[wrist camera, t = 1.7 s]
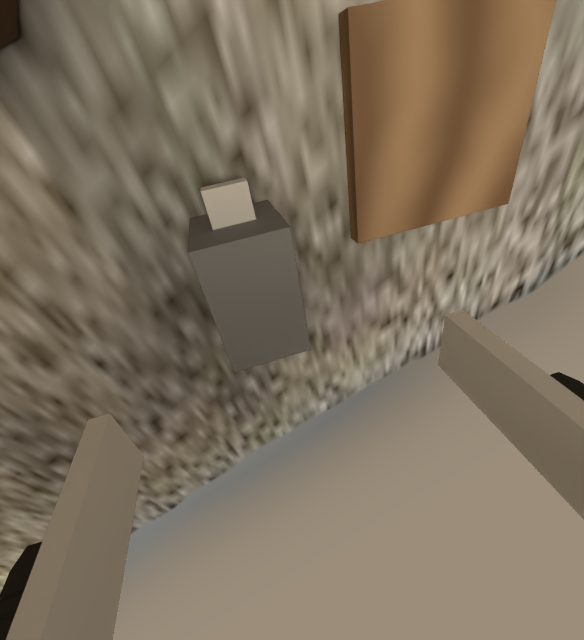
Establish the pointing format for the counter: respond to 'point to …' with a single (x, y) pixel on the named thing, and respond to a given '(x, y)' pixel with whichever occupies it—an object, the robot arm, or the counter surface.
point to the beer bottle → (8, 21)
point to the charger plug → (248, 275)
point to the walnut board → (436, 106)
